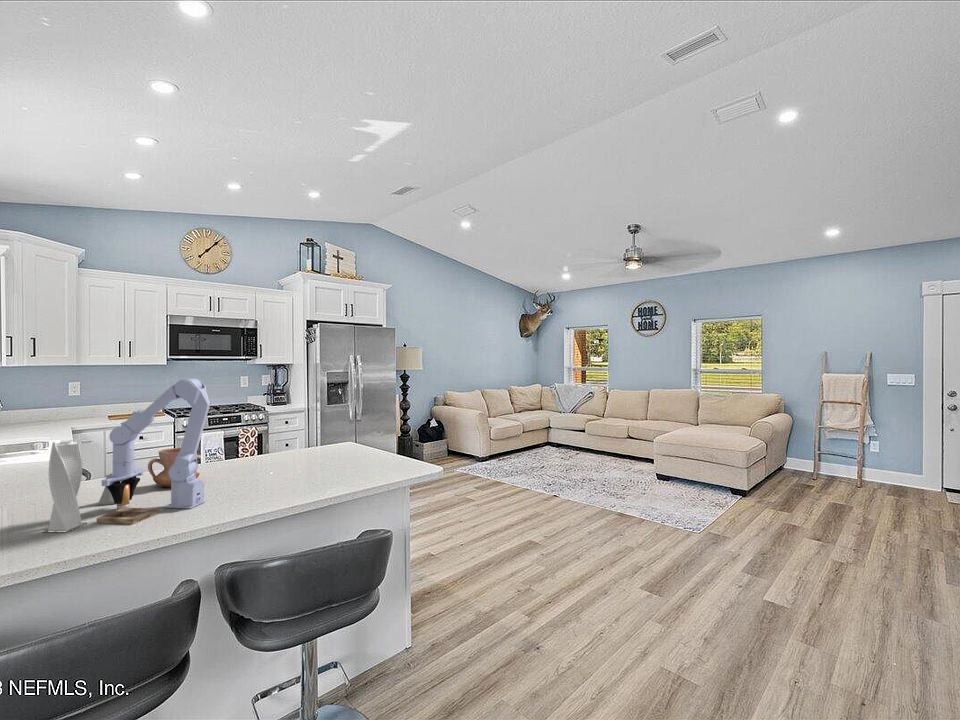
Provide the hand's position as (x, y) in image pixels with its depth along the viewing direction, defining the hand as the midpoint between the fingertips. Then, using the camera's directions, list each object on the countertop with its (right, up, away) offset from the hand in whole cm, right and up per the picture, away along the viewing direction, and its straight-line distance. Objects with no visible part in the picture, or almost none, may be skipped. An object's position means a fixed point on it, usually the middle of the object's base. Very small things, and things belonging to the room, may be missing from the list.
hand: (123, 501), depth 155 cm
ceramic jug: (-2, -3, +29) cm, 29 cm away
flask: (-10, -3, +7) cm, 12 cm away
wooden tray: (+8, -3, -9) cm, 12 cm away
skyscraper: (-3, -3, -18) cm, 19 cm away
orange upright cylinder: (0, -2, 0) cm, 2 cm away
